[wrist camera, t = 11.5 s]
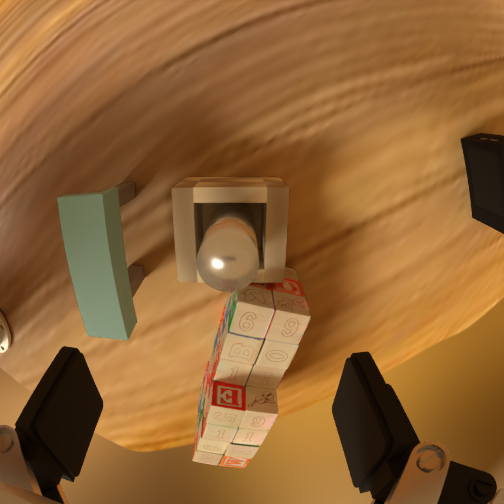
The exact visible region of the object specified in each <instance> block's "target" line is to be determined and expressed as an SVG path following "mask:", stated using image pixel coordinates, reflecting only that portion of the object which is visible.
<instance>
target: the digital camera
mask: <svg viewBox="0 0 504 504" xmlns="http://www.w3.org/2000/svg"><path fill="white" fill-rule="evenodd" d="M469 139H471V140H469ZM461 144H462V149H463V154H464V159H465V165H466V170H467V177H468V184H469V191H470V199H471V208H472V218H474V219H476V220H478V221H480V222H482V223H484V224H486V225H488V226H490V227H492V228H494V229H495V230H497V231H499V232H501V233H503V234H504V136H502V135H494V134H486V133H479V134H476V135H472V136H469V137H466V138H462V139H461Z"/></svg>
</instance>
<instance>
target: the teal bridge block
mask: <svg viewBox="0 0 504 504" xmlns="http://www.w3.org/2000/svg"><path fill="white" fill-rule="evenodd" d="M135 197H136V195H135V182H131V183H120V184H118V185H116V186H114V187H111V188H109V189H107V190H105V191H103V192H91V193H79V194H68V195H62V196H60V197H58V198H57V202H58V210H59V217H60V223H61V230H62V236H63V241H64V247H65V252H66V257H67V261H68V266H69V271H70V275H71V279H72V283H73V287H74V291H75V295H76V299H77V302H78V306H79V309H80V313H81V316H82V320H83V323H84V326H85V329H86V332H87V335H88V336H93V337H101V338H110V339H120V340H128V339H129V337H130V335H131V333H132V331H133V329H134V327H135V325H136V323H137V318H136V314H135V309H134V304H133V296H134V294H135V293H136V291H137V289H138V288H139V286H140V285H141V283H142V281H143V280H144V271H143V266H137V265H130V266H129V268H128V269H127V263H126V257H125V250H124V242H123V234H122V226H121V217H120V207H121V206H122V205H124V204H125V203H127V202H128V201H130V200H132V199H133V198H135Z"/></svg>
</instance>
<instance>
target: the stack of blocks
mask: <svg viewBox="0 0 504 504" xmlns="http://www.w3.org/2000/svg"><path fill="white" fill-rule="evenodd" d="M310 319H311V315H310V311H309V308H308V306H307V302H306V300H305V294H304V291H303V288H302V285H301V283H300V281H299V278H298V275H297V273H296V270H295V269H292V268H288V267H285V275H284V282H282V283H250V284H249V285H248V286H246V287H245V288H243V289H241V290H238V291H233V292H229V293H228V297H227V300H226V304H225V307H224V310H223V314H222V317H221V320H220V324H219V329H218V333H217V336H216V340H215V343H214V347H213V350H212V354H211V357H210V361H209V362H208V365H207V369H206V372H205V376H204V378H203V382H202V385H201V389H200V397H199V404H198V405H199V408H198V417H197V423H196V430H195V439H194V440H195V442H194V449H193V458H192V460H193V461H195V462H200V463H206V464H212V465H218V464H219V465H221V466H228V467H238V468H239V467H240V468H245V467H246V465H247V464H248V462H249V461H250V459H251V458H253V456H254V455H255V453H256V452H257V450H258V448H259V445H261V444H262V442H263V441H264V439H265V437H266V436H267V434H268V431H269V430H270V428H271V427H272V425H273V423H274V421H275V420H276V418H277V416H278V406H277V396H276V389H277V387H278V385H279V383H280V381H281V379H282V377H283V375H284V373H285V371H286V369H288V367H289V365H290V363H291V361H292V359H293V357H294V355H295V353H296V351H297V349H298V347H299V342H300V340H301V338H302V336H303V334H304V332H305V330H306V328H307V325H308V323H309V321H310Z"/></svg>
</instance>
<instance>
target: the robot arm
mask: <svg viewBox="0 0 504 504" xmlns="http://www.w3.org/2000/svg"><path fill="white" fill-rule="evenodd" d="M10 345H11V334H10V330H9V327H8V324H7V322H6V320H5V318H4V316H3V314H2V313H1V311H0V353H4V352H6V351H7V350H8V349H9V347H10ZM102 409H103V400H102V398H101V396H100V394H99V391H98V389H97V387H96V385H95V382H94V380H93V378H92V375H91V373H90V370H89V368H88V366H87V363H86V360H85V358H84V355H83V354H82V353H80V351H79V350H78V349H77V348H72V347H66V346H64V347H62V348H61V349H60V351H59V352H58V354H57V355H56V357H55V358H54V360H53V362H52V363H51V365H50V366H49V368H48V369H47V371H46V372H45V374H44V376H43V377H42V379H41V380H40V382H39V384H38V385H37V387H36V389H35V390H34V392H33V394H32V395H31V397H30V399H29V400H28V402H27V404H26V406H25V407H24V409H23V411H22V413H21V415H20V416H19V418H18V420H17V422H16V423H15V426H16V428H15V430H14V429H13V428H12V427H10V426H7V425H0V504H69V503H68V501H67V499H66V497H65V494H64V492H63V490H62V488H61V485H60V480H61V478H63V479H66V480H69V481H72V482H74V479H75V477H77V476H78V475H79V474H80V471H81V468H82V465H83V462H84V459H85V456H86V453H87V450H88V447H89V444H90V441H91V439H92V436H93V433H94V431H95V428H96V425H97V422H98V420H99V417H100V415H101V412H102ZM332 414H333V417H334V420H335V423H336V427H337V430H338V434H339V437H340V440H341V444H342V447H343V451H344V454H345V457H346V461H347V464H348V468H349V471H350V475H351V478H352V482H353V485H354V487H356V488H357V487H359V490H360V493H363V492H368V491H370V492H371V495H372V498H373V501H372V502H371V504H504V489H502V488H501V489H500V490H497V486H496V481H495V479H494V477H493V476H492V475H491V474H489V473H487V472H484V471H480V470H477V469H474V468H471V467H468V466H465V465H462V464H459V463H456V462H453V461H450V455H449V452H448V450H447V449H446V447H444V446H443V445H442V444H440V443H438V442H435V441H424V442H422V443H420V441H419V439H418V437H417V435H416V433H415V431H414V429H413V427H412V425H411V423H410V421H409V419H408V417H407V415H406V413H405V411H404V409H403V407H402V406H401V403H400V401H399V399H398V397H397V395H396V394H395V392H394V390H393V388H392V387H391V385H389V384H386V383H385V381H384V379H383V377H382V375H381V373H380V371H379V369H378V367H377V366H376V364H375V362H374V360H373V358H372V356H371V354H370V353H369V352H359V353H352V355H351V357H350V358H347V359H346V362H345V365H344V369H343V372H342V376H341V379H340V383H339V386H338V389H337V393H336V396H335V399H334V402H333V405H332Z"/></svg>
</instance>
